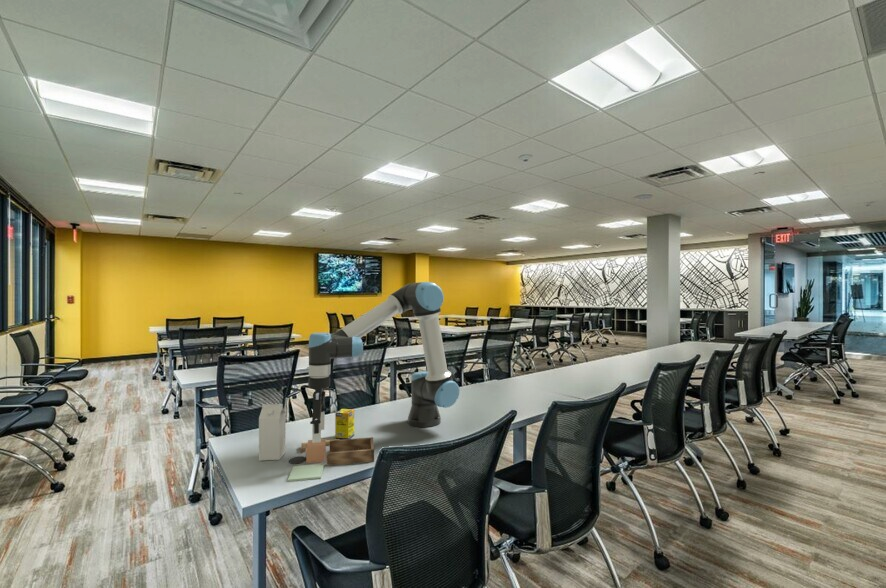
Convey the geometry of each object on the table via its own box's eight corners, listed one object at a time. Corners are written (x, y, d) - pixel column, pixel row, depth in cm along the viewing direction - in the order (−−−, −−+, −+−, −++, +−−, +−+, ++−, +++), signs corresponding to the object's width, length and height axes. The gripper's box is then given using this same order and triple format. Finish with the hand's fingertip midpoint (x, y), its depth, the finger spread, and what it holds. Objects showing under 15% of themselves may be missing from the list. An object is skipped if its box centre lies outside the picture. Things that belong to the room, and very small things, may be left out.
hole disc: (307, 456, 147) (307, 455, 147) (305, 463, 141) (305, 462, 141) (290, 457, 145) (290, 456, 145) (287, 464, 140) (287, 463, 140)
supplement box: (348, 440, 163) (348, 413, 163) (334, 439, 164) (334, 412, 164) (354, 435, 169) (354, 409, 169) (341, 434, 170) (341, 408, 170)
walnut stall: (373, 447, 155) (373, 437, 155) (374, 461, 142) (374, 450, 142) (329, 451, 151) (329, 440, 152) (326, 465, 139) (326, 453, 139)
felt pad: (323, 465, 139) (323, 463, 139) (320, 478, 129) (320, 476, 129) (293, 468, 137) (293, 466, 137) (287, 481, 127) (287, 479, 127)
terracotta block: (325, 455, 148) (325, 438, 148) (324, 461, 142) (324, 444, 142) (308, 456, 147) (308, 440, 147) (306, 463, 141) (306, 446, 141)
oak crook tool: (338, 443, 160) (338, 439, 160) (339, 448, 154) (339, 444, 154) (301, 447, 156) (301, 442, 156) (300, 452, 150) (300, 448, 150)
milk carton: (265, 453, 150) (265, 402, 150) (285, 452, 150) (285, 401, 150) (258, 461, 143) (258, 407, 143) (279, 460, 143) (279, 406, 143)
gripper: (312, 370, 156) (311, 425, 156) (303, 383, 132) (302, 449, 131) (332, 369, 158) (332, 424, 157) (327, 382, 133) (326, 447, 133)
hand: (318, 435), depth 144 cm, fingers open, 13 cm apart
